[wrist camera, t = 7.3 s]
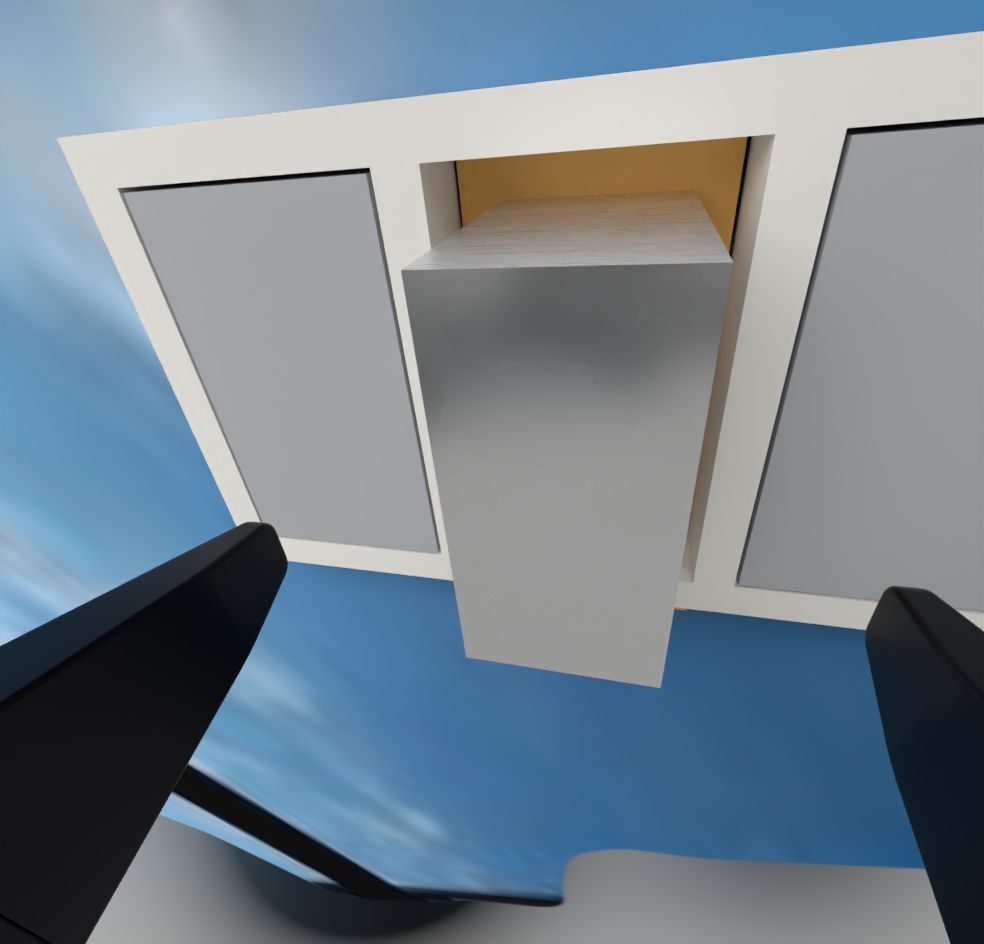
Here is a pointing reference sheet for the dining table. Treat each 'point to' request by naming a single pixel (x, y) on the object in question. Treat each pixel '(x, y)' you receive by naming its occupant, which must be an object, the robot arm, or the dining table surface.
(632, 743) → the dining table surface
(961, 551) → the rack
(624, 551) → the grey block
